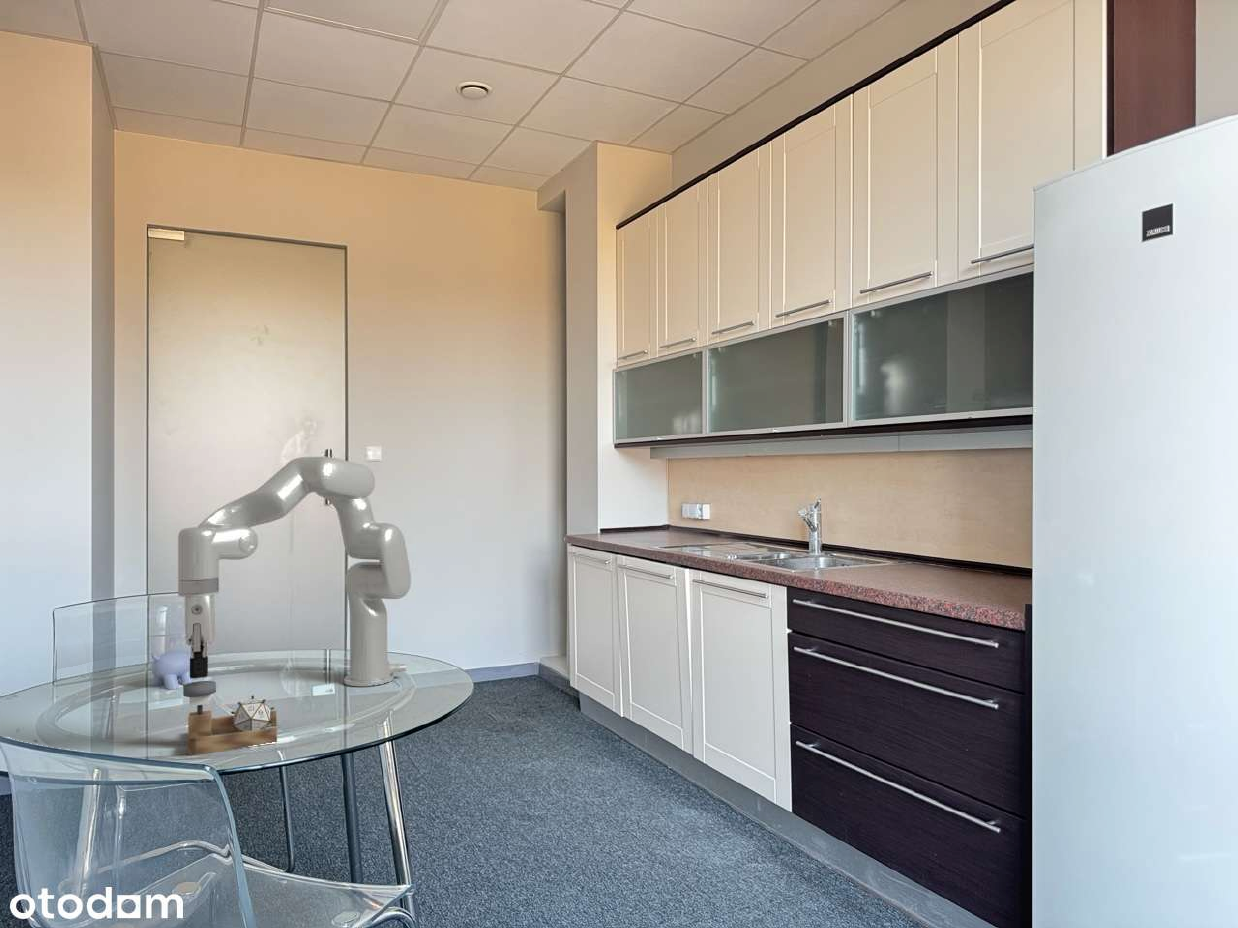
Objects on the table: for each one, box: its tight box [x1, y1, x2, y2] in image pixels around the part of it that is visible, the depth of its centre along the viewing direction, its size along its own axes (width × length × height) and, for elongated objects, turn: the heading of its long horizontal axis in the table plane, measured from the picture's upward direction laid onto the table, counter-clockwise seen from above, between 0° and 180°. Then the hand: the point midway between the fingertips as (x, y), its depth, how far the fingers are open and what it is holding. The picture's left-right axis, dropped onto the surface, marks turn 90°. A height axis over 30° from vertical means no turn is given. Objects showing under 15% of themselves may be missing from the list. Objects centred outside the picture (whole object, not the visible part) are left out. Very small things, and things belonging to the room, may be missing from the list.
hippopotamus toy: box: [150, 650, 210, 691], centre depth 219 cm, size 11×15×10 cm
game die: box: [229, 694, 275, 732], centre depth 173 cm, size 9×8×10 cm
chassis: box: [187, 705, 278, 756], centre depth 171 cm, size 16×14×8 cm
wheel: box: [182, 680, 217, 707], centre depth 169 cm, size 6×6×4 cm
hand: (198, 676), depth 168 cm, fingers closed
